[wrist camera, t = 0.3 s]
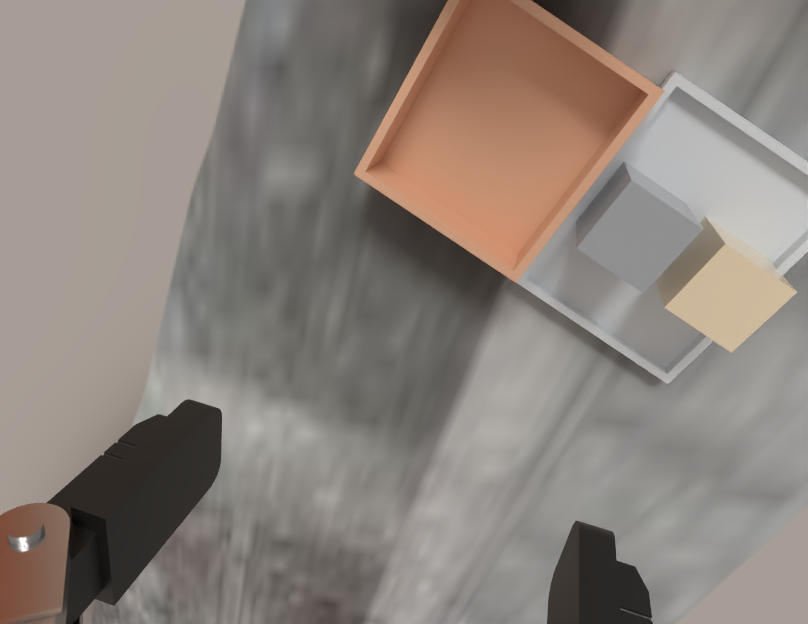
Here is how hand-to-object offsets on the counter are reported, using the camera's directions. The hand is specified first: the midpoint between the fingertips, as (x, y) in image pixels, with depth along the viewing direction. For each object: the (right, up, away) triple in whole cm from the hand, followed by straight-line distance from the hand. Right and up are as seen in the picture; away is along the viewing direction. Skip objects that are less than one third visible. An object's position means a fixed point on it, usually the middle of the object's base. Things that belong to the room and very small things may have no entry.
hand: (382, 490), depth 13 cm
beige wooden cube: (+18, +7, +21) cm, 29 cm away
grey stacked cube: (+13, +10, +21) cm, 27 cm away
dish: (+6, +15, +21) cm, 27 cm away
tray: (+16, +8, +21) cm, 28 cm away
